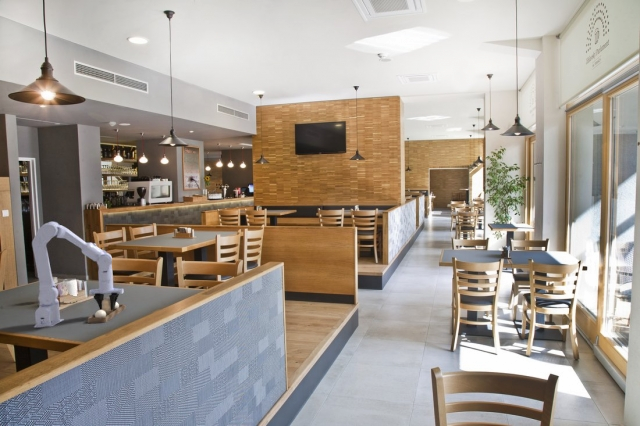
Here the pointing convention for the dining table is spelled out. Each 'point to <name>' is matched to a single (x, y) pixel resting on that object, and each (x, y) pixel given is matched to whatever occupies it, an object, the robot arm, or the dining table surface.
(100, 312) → the egg left
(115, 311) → the holder
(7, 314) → the dining table surface
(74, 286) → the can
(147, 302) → the dining table surface
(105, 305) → the beige jar
